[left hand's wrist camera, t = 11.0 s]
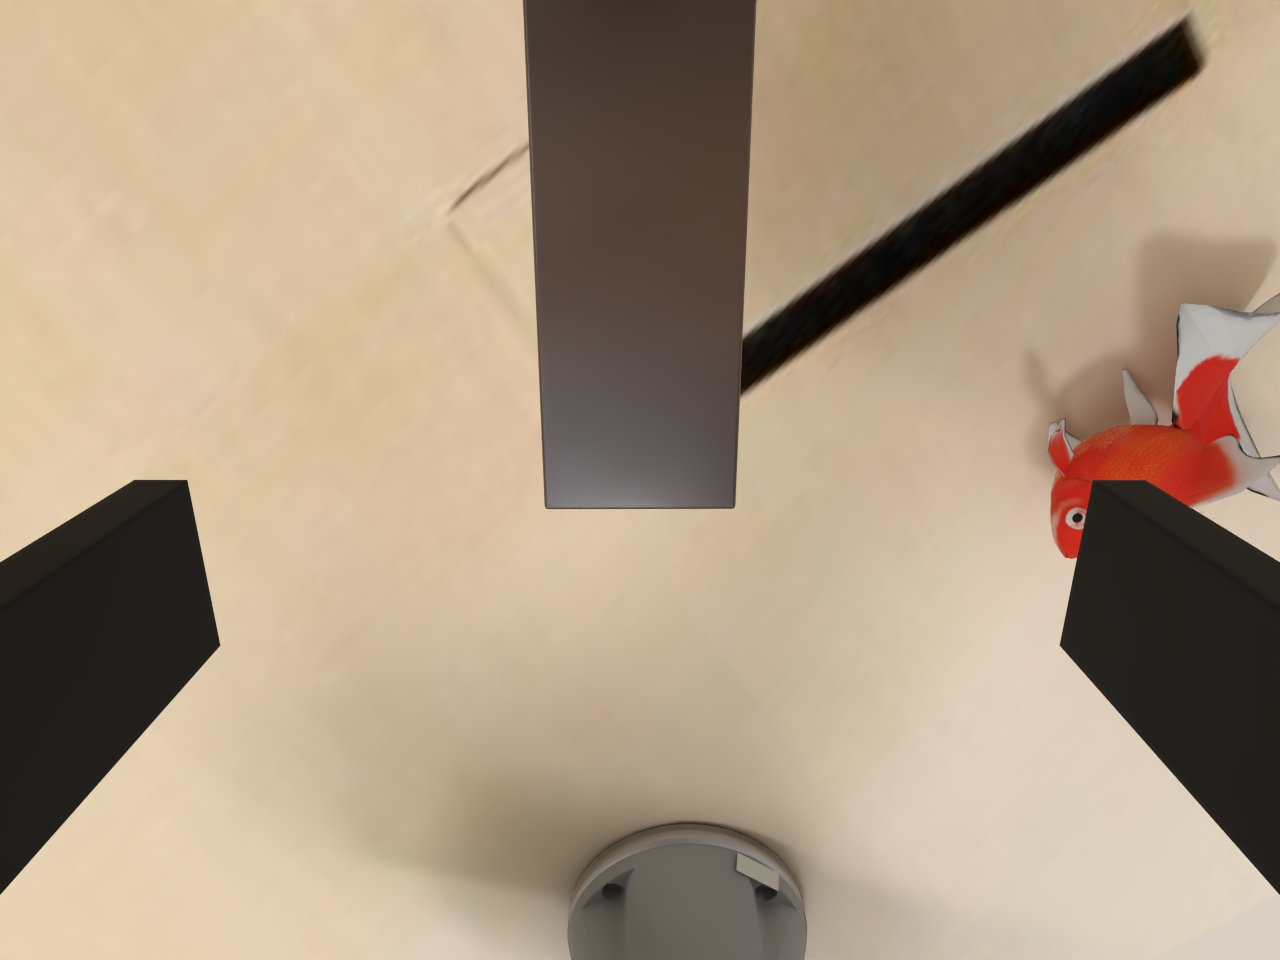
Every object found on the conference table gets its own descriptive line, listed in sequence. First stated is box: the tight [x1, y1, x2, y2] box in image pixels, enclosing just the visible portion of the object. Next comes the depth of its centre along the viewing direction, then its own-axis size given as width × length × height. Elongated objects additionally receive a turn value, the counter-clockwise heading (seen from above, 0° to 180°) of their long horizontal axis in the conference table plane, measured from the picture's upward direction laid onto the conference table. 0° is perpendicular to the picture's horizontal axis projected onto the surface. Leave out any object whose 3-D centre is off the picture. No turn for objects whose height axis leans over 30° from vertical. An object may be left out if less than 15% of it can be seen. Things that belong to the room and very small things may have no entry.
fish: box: [1048, 293, 1280, 559], centre depth 39 cm, size 11×16×10 cm
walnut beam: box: [523, 0, 756, 509], centre depth 21 cm, size 23×5×8 cm, turn 0°
